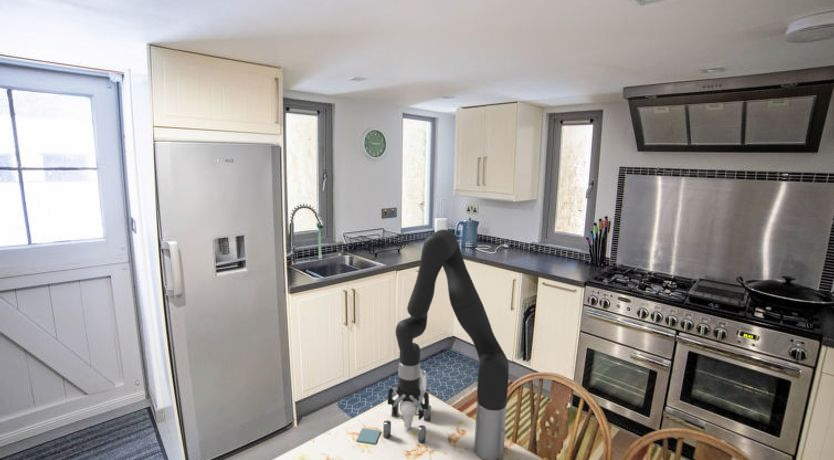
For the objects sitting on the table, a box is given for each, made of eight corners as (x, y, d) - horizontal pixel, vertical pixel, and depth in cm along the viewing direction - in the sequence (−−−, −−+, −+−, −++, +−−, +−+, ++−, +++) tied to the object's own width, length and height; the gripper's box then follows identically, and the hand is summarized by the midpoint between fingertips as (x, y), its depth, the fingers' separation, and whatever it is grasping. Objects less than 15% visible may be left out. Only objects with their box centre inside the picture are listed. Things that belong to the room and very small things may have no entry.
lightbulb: (395, 429, 141) (396, 400, 139) (404, 420, 146) (405, 392, 145) (411, 435, 138) (412, 405, 137) (419, 425, 144) (420, 397, 142)
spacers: (431, 418, 148) (431, 405, 147) (424, 444, 134) (425, 430, 133) (392, 412, 151) (392, 400, 150) (382, 438, 137) (382, 424, 136)
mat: (380, 431, 140) (380, 430, 140) (375, 444, 133) (375, 443, 133) (362, 429, 141) (362, 428, 141) (356, 441, 134) (356, 440, 134)
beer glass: (404, 406, 155) (405, 370, 152) (420, 402, 158) (421, 366, 155) (411, 417, 148) (412, 379, 146) (428, 412, 151) (429, 375, 149)
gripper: (431, 370, 142) (429, 413, 144) (391, 366, 144) (390, 407, 147) (428, 381, 134) (426, 426, 137) (386, 376, 137) (385, 420, 139)
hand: (407, 416), depth 142 cm, fingers open, 8 cm apart
